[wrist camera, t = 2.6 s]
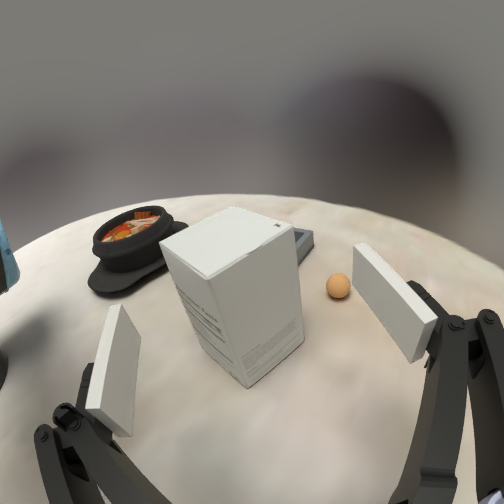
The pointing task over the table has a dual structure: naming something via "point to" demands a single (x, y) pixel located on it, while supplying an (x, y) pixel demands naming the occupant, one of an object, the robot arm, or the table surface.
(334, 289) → the ball
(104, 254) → the casserole
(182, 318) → the table surface
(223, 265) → the supplement box
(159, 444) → the table surface
